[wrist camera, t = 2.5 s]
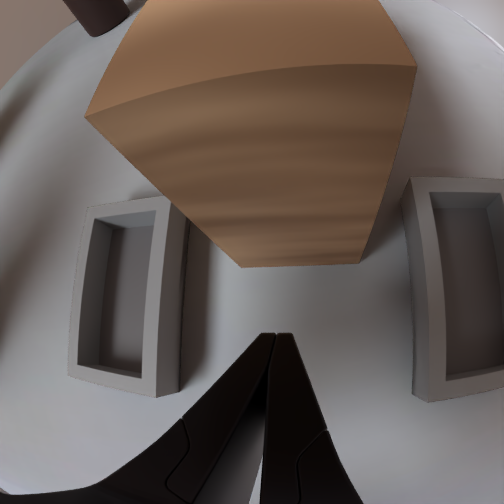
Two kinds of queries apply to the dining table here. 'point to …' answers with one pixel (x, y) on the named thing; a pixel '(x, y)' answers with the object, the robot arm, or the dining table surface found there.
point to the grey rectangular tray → (130, 297)
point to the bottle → (98, 14)
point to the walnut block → (263, 120)
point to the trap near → (456, 284)
